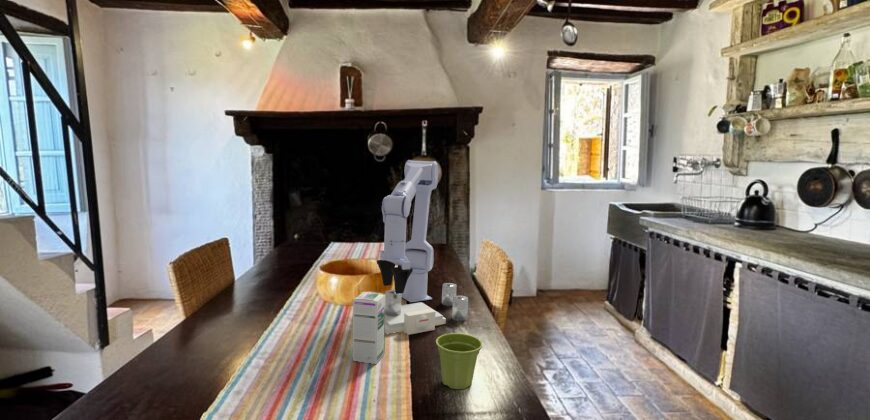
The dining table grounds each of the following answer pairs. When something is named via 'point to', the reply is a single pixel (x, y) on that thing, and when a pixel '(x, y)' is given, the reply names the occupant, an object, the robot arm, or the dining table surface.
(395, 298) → the cylinder
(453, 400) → the dining table surface
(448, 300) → the cylinder
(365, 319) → the syrup box
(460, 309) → the cylinder
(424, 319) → the scale
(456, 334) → the plant pot
